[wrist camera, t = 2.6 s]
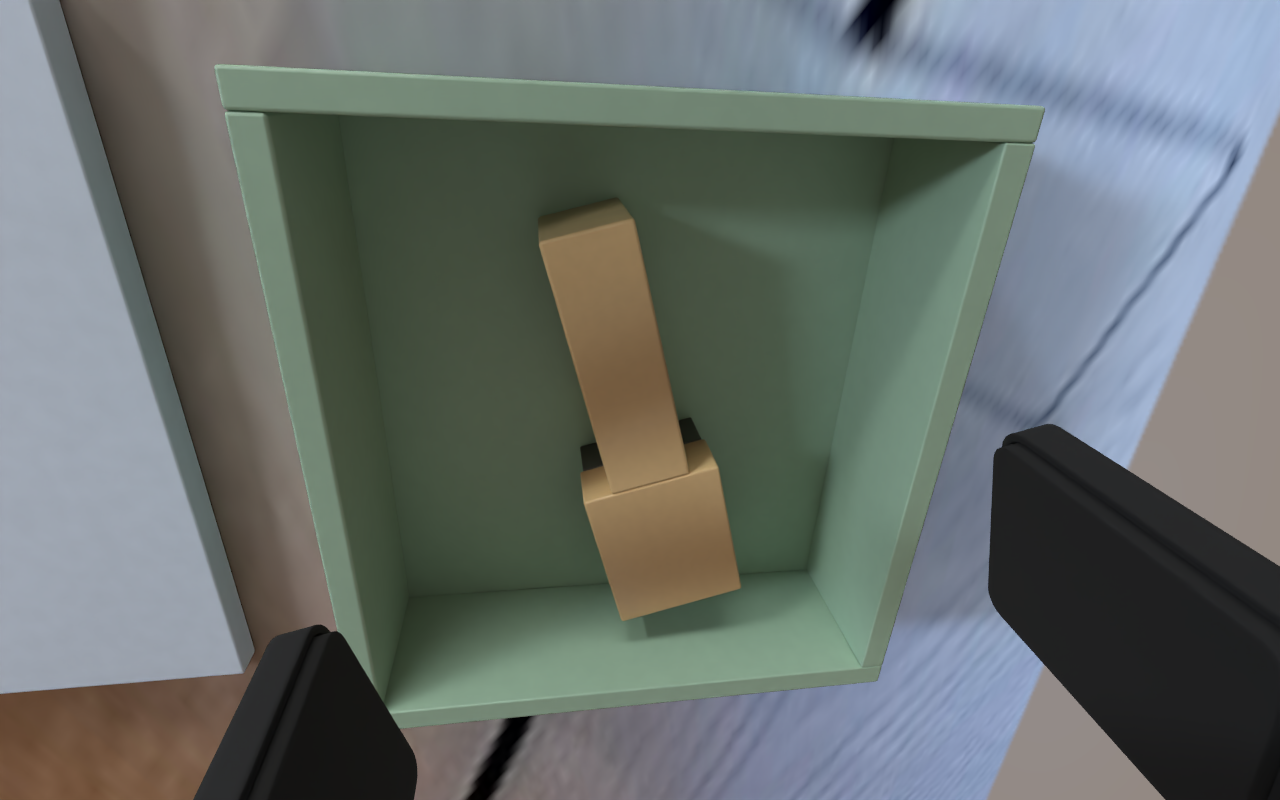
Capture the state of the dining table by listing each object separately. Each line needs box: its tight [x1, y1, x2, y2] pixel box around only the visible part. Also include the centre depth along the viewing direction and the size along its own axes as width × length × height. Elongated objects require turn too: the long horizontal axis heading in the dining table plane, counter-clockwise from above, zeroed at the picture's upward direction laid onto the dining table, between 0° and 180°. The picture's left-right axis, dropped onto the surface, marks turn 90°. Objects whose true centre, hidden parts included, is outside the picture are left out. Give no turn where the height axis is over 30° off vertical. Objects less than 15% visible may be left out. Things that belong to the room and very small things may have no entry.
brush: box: [538, 197, 741, 621], centre depth 18 cm, size 12×4×3 cm, turn 13°
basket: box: [215, 64, 1045, 729], centre depth 18 cm, size 16×15×5 cm
